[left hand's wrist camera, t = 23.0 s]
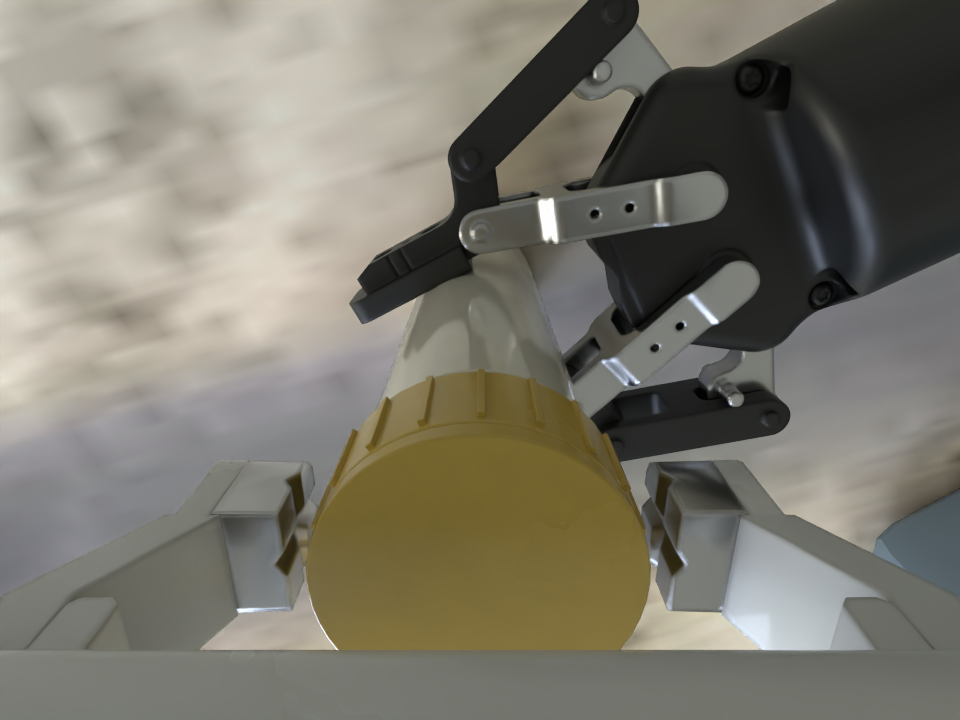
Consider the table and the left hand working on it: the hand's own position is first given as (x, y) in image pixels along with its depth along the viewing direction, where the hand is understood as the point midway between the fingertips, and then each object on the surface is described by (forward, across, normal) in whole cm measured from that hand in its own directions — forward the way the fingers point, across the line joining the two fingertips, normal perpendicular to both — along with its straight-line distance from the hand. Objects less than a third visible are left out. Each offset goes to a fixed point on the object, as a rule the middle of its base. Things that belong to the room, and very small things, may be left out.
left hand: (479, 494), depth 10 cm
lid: (-2, 0, 0) cm, 2 cm away
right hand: (+9, -2, -1) cm, 9 cm away
